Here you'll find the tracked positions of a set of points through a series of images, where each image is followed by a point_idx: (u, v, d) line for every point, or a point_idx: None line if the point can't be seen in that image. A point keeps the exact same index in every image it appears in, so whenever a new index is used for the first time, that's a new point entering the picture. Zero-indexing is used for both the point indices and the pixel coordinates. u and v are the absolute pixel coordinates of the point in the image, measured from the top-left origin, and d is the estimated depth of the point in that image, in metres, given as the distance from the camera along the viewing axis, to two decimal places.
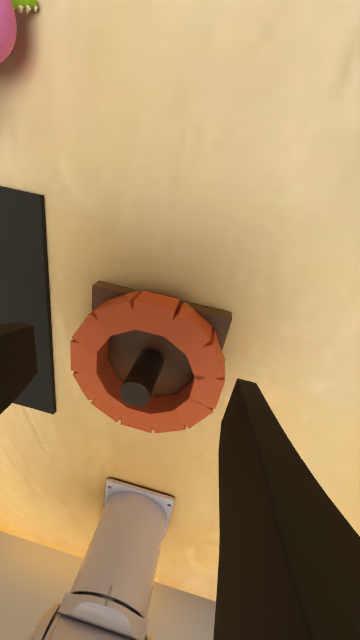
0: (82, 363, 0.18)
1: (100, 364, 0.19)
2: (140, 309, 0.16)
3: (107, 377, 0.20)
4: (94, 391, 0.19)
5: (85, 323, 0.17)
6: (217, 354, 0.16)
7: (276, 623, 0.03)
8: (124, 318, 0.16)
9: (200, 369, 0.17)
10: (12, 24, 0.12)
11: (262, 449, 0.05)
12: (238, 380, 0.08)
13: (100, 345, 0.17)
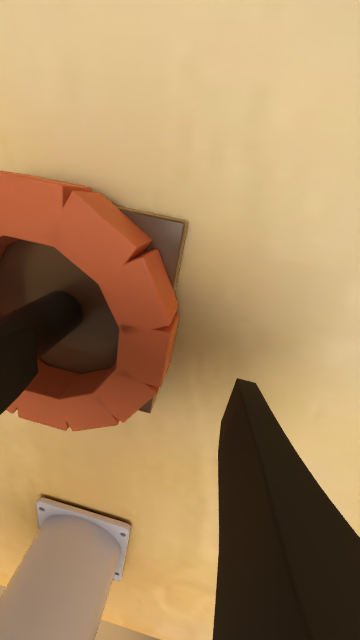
0: None
1: None
2: (1, 188, 0.08)
3: None
4: None
5: None
6: (154, 280, 0.09)
7: (275, 623, 0.03)
8: None
9: (126, 312, 0.09)
10: None
11: (261, 449, 0.05)
12: (238, 380, 0.08)
13: None
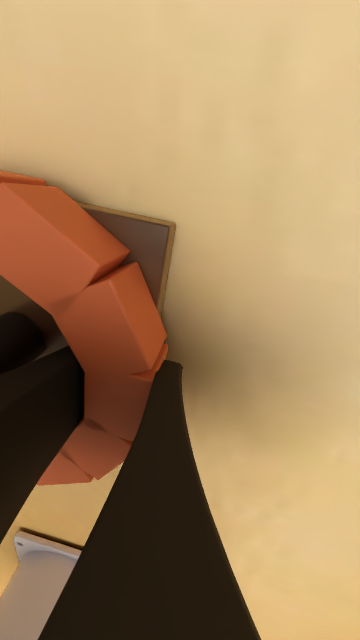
0: None
1: None
2: None
3: None
4: None
5: None
6: (127, 311, 0.06)
7: None
8: None
9: (92, 352, 0.07)
10: None
11: (146, 417, 0.05)
12: None
13: None
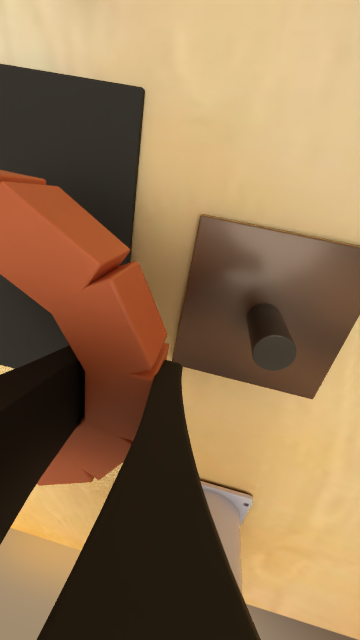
0: None
1: None
2: None
3: None
4: None
5: None
6: (128, 310, 0.06)
7: None
8: None
9: (92, 351, 0.07)
10: None
11: (146, 417, 0.05)
12: None
13: None
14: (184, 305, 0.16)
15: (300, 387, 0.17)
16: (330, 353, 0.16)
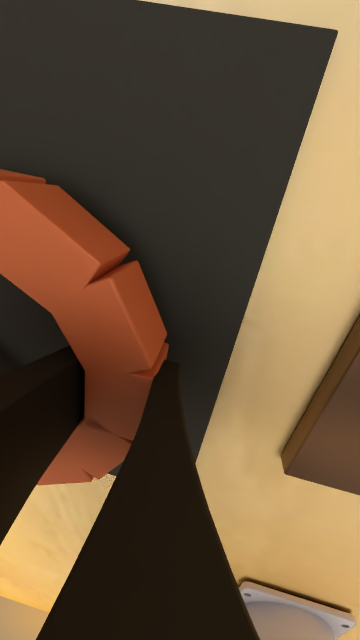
0: None
1: None
2: None
3: None
4: None
5: None
6: (128, 309, 0.06)
7: None
8: None
9: (92, 350, 0.07)
10: None
11: (146, 417, 0.05)
12: None
13: None
14: (329, 403, 0.10)
15: None
16: None
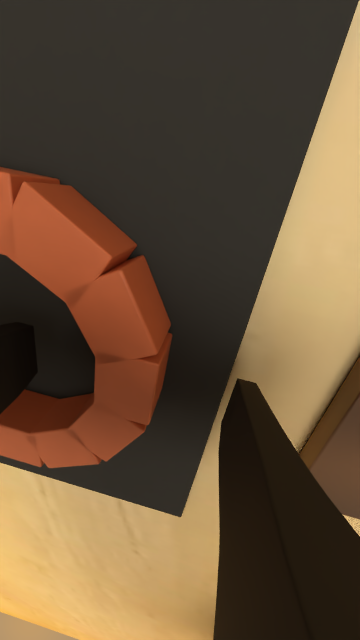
0: None
1: None
2: None
3: None
4: None
5: None
6: (136, 299, 0.07)
7: (276, 623, 0.03)
8: None
9: (102, 337, 0.07)
10: None
11: (262, 449, 0.05)
12: (238, 380, 0.08)
13: None
14: (341, 426, 0.09)
15: None
16: None
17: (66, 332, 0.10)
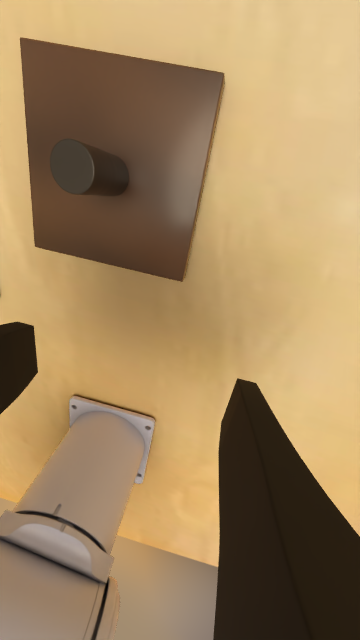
0: None
1: None
2: None
3: None
4: None
5: None
6: None
7: (276, 623, 0.03)
8: None
9: None
10: None
11: (262, 449, 0.05)
12: (238, 380, 0.08)
13: None
14: (30, 165, 0.14)
15: (166, 266, 0.16)
16: (188, 218, 0.14)
17: None
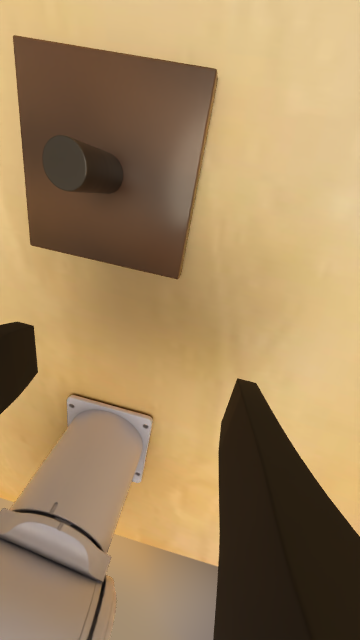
0: None
1: None
2: None
3: None
4: None
5: None
6: None
7: (276, 623, 0.03)
8: None
9: None
10: None
11: (262, 449, 0.05)
12: (238, 380, 0.08)
13: None
14: (24, 164, 0.14)
15: (162, 264, 0.16)
16: (182, 215, 0.14)
17: None
